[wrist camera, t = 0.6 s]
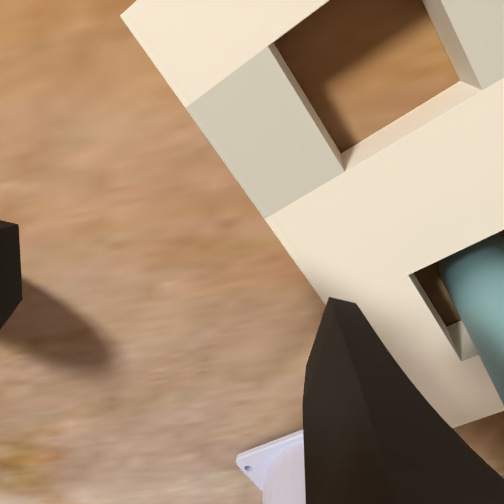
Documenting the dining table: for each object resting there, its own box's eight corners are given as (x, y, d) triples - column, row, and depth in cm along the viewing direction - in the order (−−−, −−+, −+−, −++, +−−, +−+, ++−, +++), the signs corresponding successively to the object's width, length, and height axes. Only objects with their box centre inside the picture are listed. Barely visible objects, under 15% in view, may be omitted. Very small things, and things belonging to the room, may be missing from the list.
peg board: (667, 304, 20) (712, 340, 18) (410, 400, 24) (420, 438, 22) (454, -256, 13) (483, -313, 11) (145, 16, 17) (119, 15, 15)
